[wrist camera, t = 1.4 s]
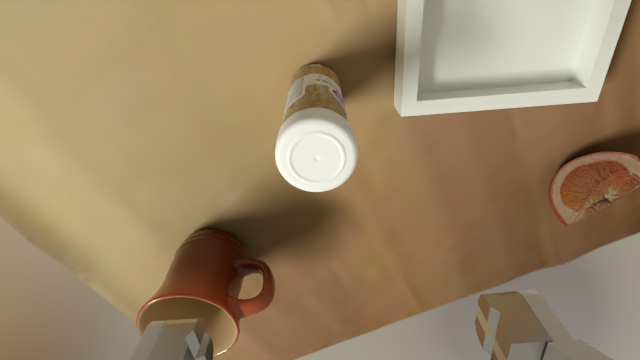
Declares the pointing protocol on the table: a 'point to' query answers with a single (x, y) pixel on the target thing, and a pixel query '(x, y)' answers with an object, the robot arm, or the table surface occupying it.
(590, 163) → the fruit slice
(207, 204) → the table surface
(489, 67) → the tray
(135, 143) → the table surface
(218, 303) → the mug
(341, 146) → the sprinkles bottle
